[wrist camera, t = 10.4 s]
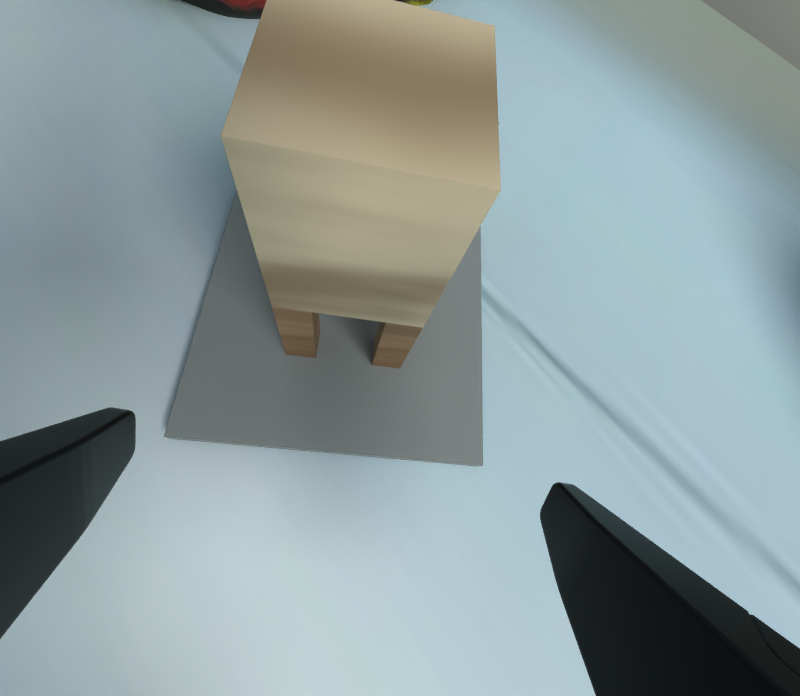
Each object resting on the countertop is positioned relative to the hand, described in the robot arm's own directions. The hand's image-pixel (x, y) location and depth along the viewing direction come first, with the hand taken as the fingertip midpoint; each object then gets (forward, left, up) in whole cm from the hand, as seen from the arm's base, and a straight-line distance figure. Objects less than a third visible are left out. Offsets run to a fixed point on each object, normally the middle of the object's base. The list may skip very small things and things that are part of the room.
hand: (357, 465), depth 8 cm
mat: (+8, +2, -10) cm, 13 cm away
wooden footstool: (+8, +2, -9) cm, 12 cm away
